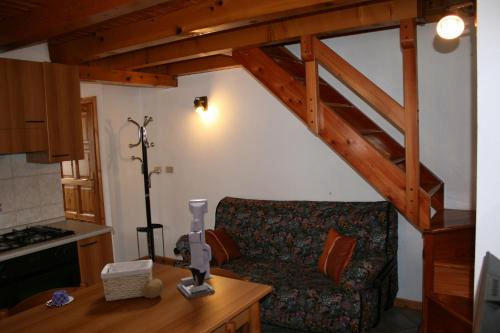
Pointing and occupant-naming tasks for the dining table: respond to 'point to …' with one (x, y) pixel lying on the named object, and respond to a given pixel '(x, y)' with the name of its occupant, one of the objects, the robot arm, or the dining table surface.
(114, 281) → the storage basket
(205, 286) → the press handle
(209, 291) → the base
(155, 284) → the potato
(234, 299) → the dining table surface
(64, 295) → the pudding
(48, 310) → the dining table surface
